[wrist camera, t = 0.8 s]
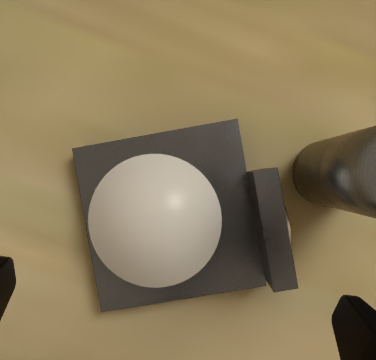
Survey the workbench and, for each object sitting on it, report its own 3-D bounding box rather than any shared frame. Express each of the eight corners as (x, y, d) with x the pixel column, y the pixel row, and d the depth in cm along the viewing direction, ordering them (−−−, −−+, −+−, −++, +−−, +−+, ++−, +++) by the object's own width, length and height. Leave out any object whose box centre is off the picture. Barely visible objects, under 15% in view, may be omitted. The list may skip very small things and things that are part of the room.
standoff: (362, 198, 22) (557, 227, 10) (298, 209, 22) (415, 250, 10) (351, 135, 22) (534, 89, 10) (287, 146, 22) (392, 114, 10)
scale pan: (231, 272, 21) (232, 276, 20) (104, 292, 21) (100, 297, 20) (208, 144, 21) (209, 142, 20) (81, 166, 21) (77, 166, 20)
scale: (285, 274, 22) (304, 296, 18) (107, 303, 23) (88, 330, 19) (258, 118, 22) (271, 105, 18) (80, 150, 23) (55, 145, 19)
